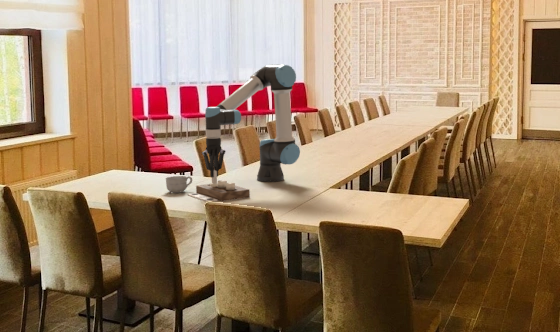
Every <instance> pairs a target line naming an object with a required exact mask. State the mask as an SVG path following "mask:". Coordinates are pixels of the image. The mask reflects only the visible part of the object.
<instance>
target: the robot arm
mask: <svg viewBox="0 0 560 332" xmlns="http://www.w3.org/2000/svg"><path fill="white" fill-rule="evenodd" d="M296 81H297V73H296V71H295V69H294V68H293V67H292V66H290V65H288V64H267V65H265V66H263V67H261V68H260V69H258V70H257V71H255V73H253V74H252V75H251V76H250V78H249V80H247V81H246V82H245V83H243V84H242V85H241V86H239V88H237V89H236V90H235V91H233V93H232V94H230V95H229V96H227V97H226V98H225V99H224V100H222V101H221V102H220V103H219V104H217V106H208V107H206V108H205V114H204V115H205V116H204V117H205V137H206V138H205V145H206V147H205V150H204V151H202V152H201V155H202V156H203V160H204V164H205V168H206V170H208V171H209V172H210V173H209V175H210V178H211V183H214V184H216V183H218V177H219V171H220V170H222V167H223V163H224V162H223V161H224V157H225V154H226V150H225V149H223V148H222V138H221V136H222V135H221V133H222V131H221V128H222V127H221V126H226V125H227V126H228V125H229V126H230V125H238V124H240V123H241V121H242V113H241V112H240V111H239V110H238V109H237V108H238V107H240V106H241V105H243V104H244V103H245V102H246V101H247V100H249V99H250V98H251V97H252V96H254V95H255V94H256V93H257V92H259V91H263V90H264V89H265V88H268V87H270V92H272V93H273V98H274V115H275V116H274V119H275V135H276V136H275V138H270V139H262V140H260V141H259V169H258V172H257V174H256V180H257V181H259V182H268V183H269V182H280V181H284V180H285V175H284V172H283V169H282V166H281V164H283V165H293V164H295V163H296V162H297V161H298V160H299V158H300V153H301V150H300V147H299V145H297V144H296V138H295V137H294V136H293V130H292V129H293V128H292V109H291V108H292V107H291V91H293V86H294V85H295V83H296Z"/></svg>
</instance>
